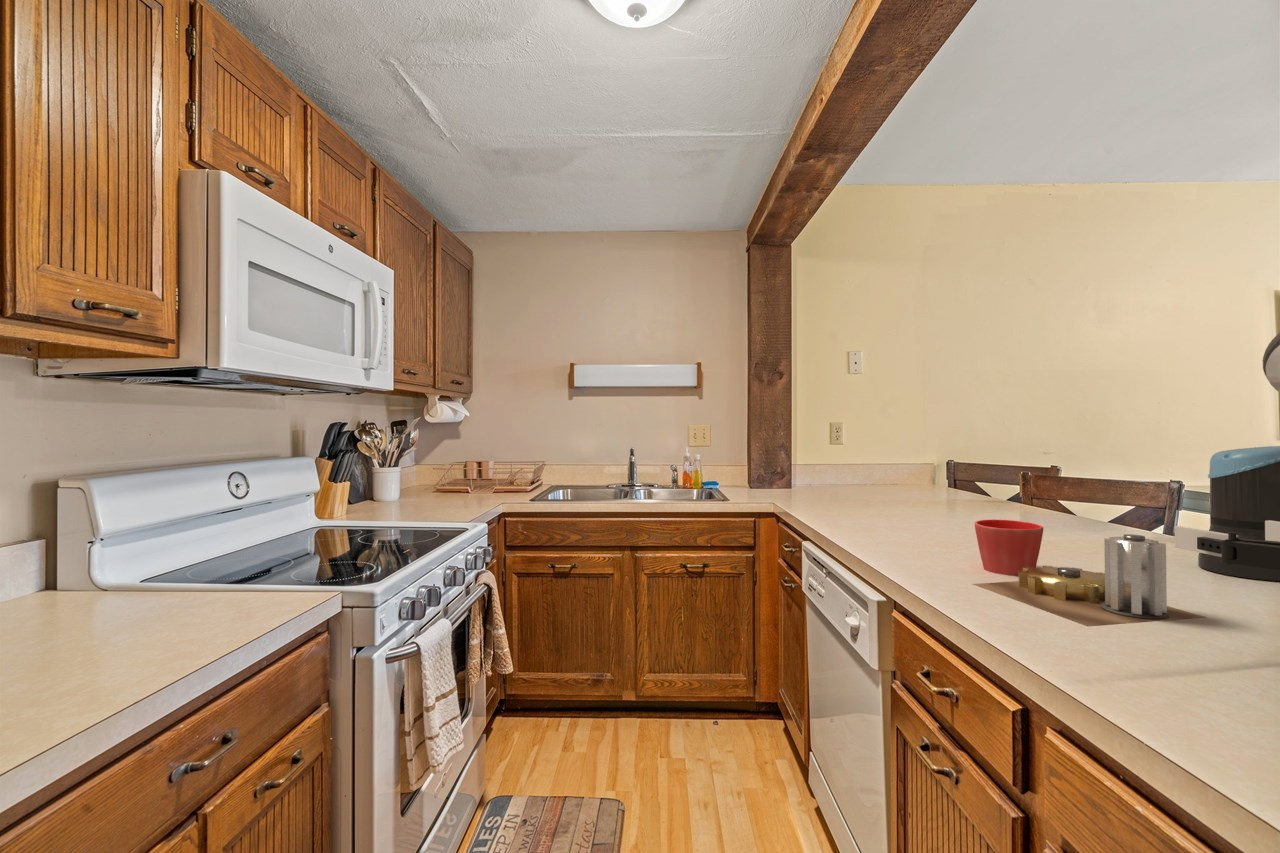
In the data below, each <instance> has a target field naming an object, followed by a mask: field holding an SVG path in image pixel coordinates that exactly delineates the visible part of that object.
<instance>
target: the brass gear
mask: <svg viewBox="0 0 1280 853" xmlns="http://www.w3.org/2000/svg"><path fill="white" fill-rule="evenodd" d="M1017 577H1018V581H1019V587H1021V588H1028V592H1029V593H1032V594H1035V595H1037V594H1042V595H1046V596H1051V597H1055V599H1056V600H1063V601H1066V600H1067V599H1068V600H1077V601H1086V602H1088V603H1096V604H1099V601H1105V572H1093V571H1088V570H1083V568H1079V567H1065V566H1064V567H1063V566H1062V567H1061V566H1060V567H1057V566H1056V567H1055V566H1053V565H1042V567H1040V566H1039V567H1036V568H1033V567H1023V571H1018V576H1017Z"/></svg>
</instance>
